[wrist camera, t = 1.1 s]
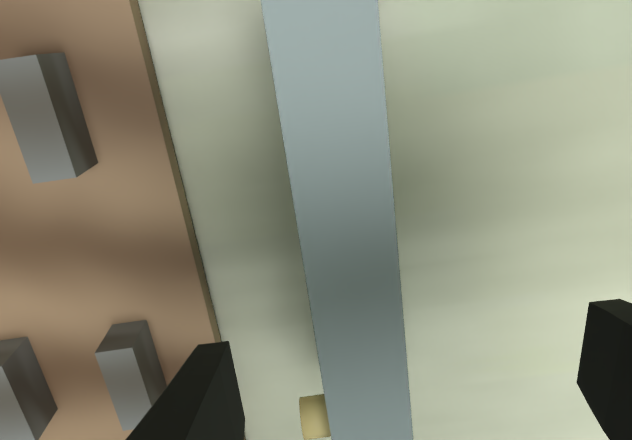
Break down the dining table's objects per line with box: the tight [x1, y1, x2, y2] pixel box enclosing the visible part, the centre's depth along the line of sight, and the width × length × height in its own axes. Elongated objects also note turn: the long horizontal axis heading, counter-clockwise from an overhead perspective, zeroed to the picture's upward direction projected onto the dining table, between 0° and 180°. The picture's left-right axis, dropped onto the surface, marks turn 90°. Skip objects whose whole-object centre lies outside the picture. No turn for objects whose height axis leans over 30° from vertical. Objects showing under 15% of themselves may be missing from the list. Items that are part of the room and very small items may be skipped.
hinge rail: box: [0, 0, 245, 440], centre depth 17 cm, size 26×12×7 cm, turn 8°
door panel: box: [261, 0, 413, 440], centre depth 17 cm, size 16×4×8 cm, turn 8°
